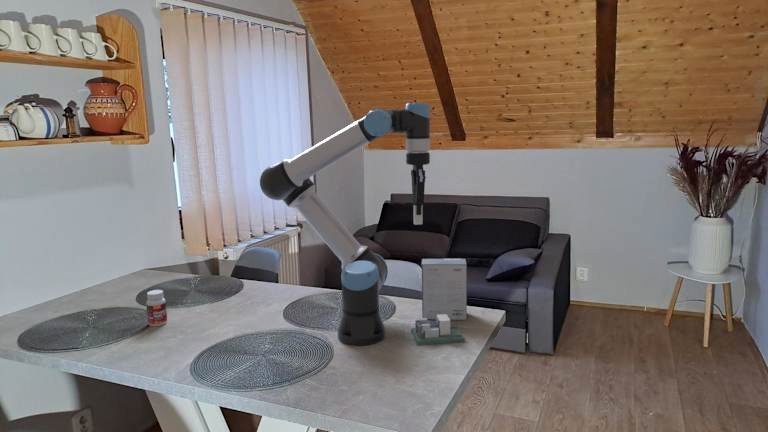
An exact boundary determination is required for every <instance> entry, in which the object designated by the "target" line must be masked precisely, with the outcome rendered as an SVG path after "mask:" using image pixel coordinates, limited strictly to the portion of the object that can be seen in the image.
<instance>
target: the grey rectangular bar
mask: <svg viewBox="0 0 768 432" xmlns="http://www.w3.org/2000/svg"><path fill="white" fill-rule="evenodd" d="M422 324H430V327H433V326H440V322H439V321H437V320H436V321H427V322H424V323H419V322H417V323H416V325H417V327H418V325H422Z"/></svg>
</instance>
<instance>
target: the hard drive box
mask: <svg viewBox="0 0 768 432" xmlns="http://www.w3.org/2000/svg"><path fill="white" fill-rule="evenodd" d="M467 273H468V264H467V260H466V258H422V259H421V307H422V308H421V312H422V314H421V315H422V317H421V318H427V320H437V315H439V314H447V316H448V317H449V319H450V321H451V320H453V321H454V320H455V321H459V320H460V321H462V320H463V321H465V320H468V315H467V312H468V311H467V304H468V302H467V300H468V299H467V298H468V297H467V295H468V294H467V293H468V289H467V287H468V282H467V280H468V274H467Z"/></svg>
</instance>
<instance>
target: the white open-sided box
mask: <svg viewBox="0 0 768 432" xmlns="http://www.w3.org/2000/svg"><path fill="white" fill-rule="evenodd" d="M436 321H439V322H440V326H437V327H438V329H440V335H446V334H450V326H451V320H450V319H449V317H448V316H447V314H439V315H437V319H436Z"/></svg>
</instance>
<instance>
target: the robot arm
mask: <svg viewBox="0 0 768 432" xmlns="http://www.w3.org/2000/svg"><path fill="white" fill-rule="evenodd" d="M430 125H431V117H430V105H429V104H428V103H427V102H407V103H406V104H405V108H403V109H379V108H378V109H372V110H369V112H368V113H366V115H364V116H363V117H361V118H360V119H358V120H356V121H354V122H353V123H351V124H350V125H348V126H346V127H345V128H342V129H341V130H339V131H337V132H336V133H334V134H332V135H331V136H329V137H327V138H326V139H324V140H322V141H320V142H319V143H317V144H315V145H314V146H312V147H311V148H308V149H306V150H305V151H304V152H302V153H300V154H298V155H297V156H295V157H293V158H292V159H289V158H284V159H283V160H282V161H280V162H278V163H275V164H272V165H269V166H268V167H266V168H265V169H264V170H263V171H262V173H261V175H260V177H259V178H260V179H259V187H260V189H261V191H262V193H263V194H264V195H265V196H266V197H267V198H268V199H270V200H272V201H273V200H274V201H283V202H284V203H285V204H286V206H287V207H288V208H290V209H292V208H293V209H296V210H297V211H298V213H299V214H300V215H301V216H302V217H303V218H304V220H305V221H306V222H307V223H308V224H309V226H310V227H311V228H312V229H313V230H314V231H315V232H316V234H317V235H318V236H319V237H320V238H321V240H322V241H323V242H324V243H325V244H326V245H327V246H328V247H329V249H330V250H331V251H332V252H333V253H334V255H335V256H336V257H337V258H338V260H339V261H341V274H340V282H341V301H342V302H341V304H342V315H341V318H340V322H339V324H338V328H337V339H338V341H340V342H342V343H344V344H347V345H352V346H366V345H373V344H377V343H379V342H380V341H382V340H384V338H385V337H386V328H385V325H384V323H383V320H382V317H381V313H380V297H379V295H380V290H381V289H382V287H383V285H384V284H385V282H386V281H387V278H388V274H389V272H388V271H389V269H388V265H387V262H386V260H385V258H383V256H381V255H379V254H377V253H374V252H373V251H372V249H370V247H369V246H368V245H362V244H360V242H359V241H358V240H357V239H356V238H355V237H354V235H353V234H352V233H351V232H350V231H349V230H348V229H347V227H346V226H345V225H344V224H343V223H342V222H341V220H340V219H339V218H338V217H337V216H336V214H335V213H334V212H333V211H332V210H331V208H330V207H328V205H327V204H326V203H325V201H323V199H322V198H321V197H320V196H319V195H318V193H317V191H316V184H315V183H314V182H313V181H312V179H311V177H312V176H314V175H316V174H318V173H319V172H321V171H323V170H325V169H327V168H328V167H330V166H332V165H333V164H335V163H337V162H338V161H340V160H342V159H344V158H346V157H347V156H349V155H351V154H352V153H354V152H356V151H358V150H360V149H361V148H363V147H365V146H366V145H368V144H370V143H372V142H374V141H375V140H377V139H380V138H381V137H383V136H384V135H387V134H405V135H406V136H405V151H406V153H405V155H406V156H405V157H406V158H405V159H406V161H405V162H406V165H410V166H411V165H412V169H410V175H411V193H412V196H411V200H412V206H413V225H415V226H416V225H418V226H419V225H423V219H424V217H423V214H424V213H423V212H424V210H423V209H424V207H423V205H424V204H425V189H426V188H425V184H426V178H427V177H426V170H424V165H426V166H427V165H428V164H429V165H430V163H431V156H430V153H429V151H430V150H431V149H430V148H431V147H430V145H431V144H432V140H430V138H431V137H430V136H431V135H430V134H431V132H430V131H431V126H430Z"/></svg>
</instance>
